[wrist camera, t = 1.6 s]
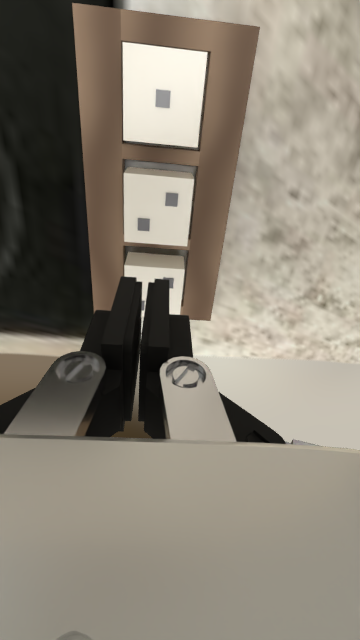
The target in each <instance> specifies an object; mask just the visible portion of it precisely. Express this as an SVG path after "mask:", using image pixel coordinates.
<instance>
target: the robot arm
mask: <svg viewBox="0 0 360 640" xmlns="http://www.w3.org/2000/svg"><path fill="white" fill-rule="evenodd" d="M141 313H142V282H139V281H137V278H136V277H124V276H121V278H120V281H119V285H118V288H117V291H116V295H115V298H114V301H113V305H112V308H111V311H109V310H96V311H95V313H94V316H93V318H92V321H91V323H90V326H89V329H88V331H87V334H86V337H85V339H84V342H83V345H82V347H81V350H80V351H78V352H71V353H68V354H66V355H63V356H61V357H60V358H58V359H57V360H56V361H55V362H54V363H53V364H52V365H51V367H50V368H49V370H48V371H47V372H46V374H45V375H44V377H43V378H42V380H41V381H40V382H39V384H38V385H37V387H36V388H34V389H32V390H30V391H28V392H26V393H24V394H22V395H20V396H18V397H16V398H14V399H12V400H10V401H8V402H6V403H4V404H2V405H0V640H360V450H355V449H348V448H336V447H324V446H319V445H315V444H311V443H307V442H303V441H298V440H292V442H291V443H288V442H285V441H284V440H283V438H282V437H281V436H280V435H279V434H277V433H276V432H275V431H274V430H272V429H271V428H270V427H268V426H267V425H265V424H264V423H262V422H261V421H259V420H258V419H257V418H255V417H254V416H252V415H251V414H250V413H248V412H247V411H245V410H244V409H242V408H241V407H239V406H238V405H237V404H235V403H234V402H232V401H231V400H229V399H228V398H227V397H225V396H224V395H222V394H221V393H220V392H218V389H217V387H216V384H215V381H214V379H213V376H212V373H211V371H210V369H209V368H208V366H207V365H206V364H204V363H203V362H202V361H199V360H198V359H195V358H193V353H192V342H191V332H190V321H189V315H175V314H169V280H168V279H155V280H154V282H148V290H147V298H146V305H145V313H144V321H143V329H142V337H141ZM140 346H141V347H140ZM139 355H140V376H139V415H138V417H139V418H138V421H144V431H145V432H146V433H148V435H150V436H151V437H152V438H153V439H143V438H116V437H114V438H113V437H111V436H112V435H114V434H115V433H116V432H118V431H124V424H125V421H131V419H132V411H133V403H134V395H135V387H136V379H137V371H138V363H139Z"/></svg>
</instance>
